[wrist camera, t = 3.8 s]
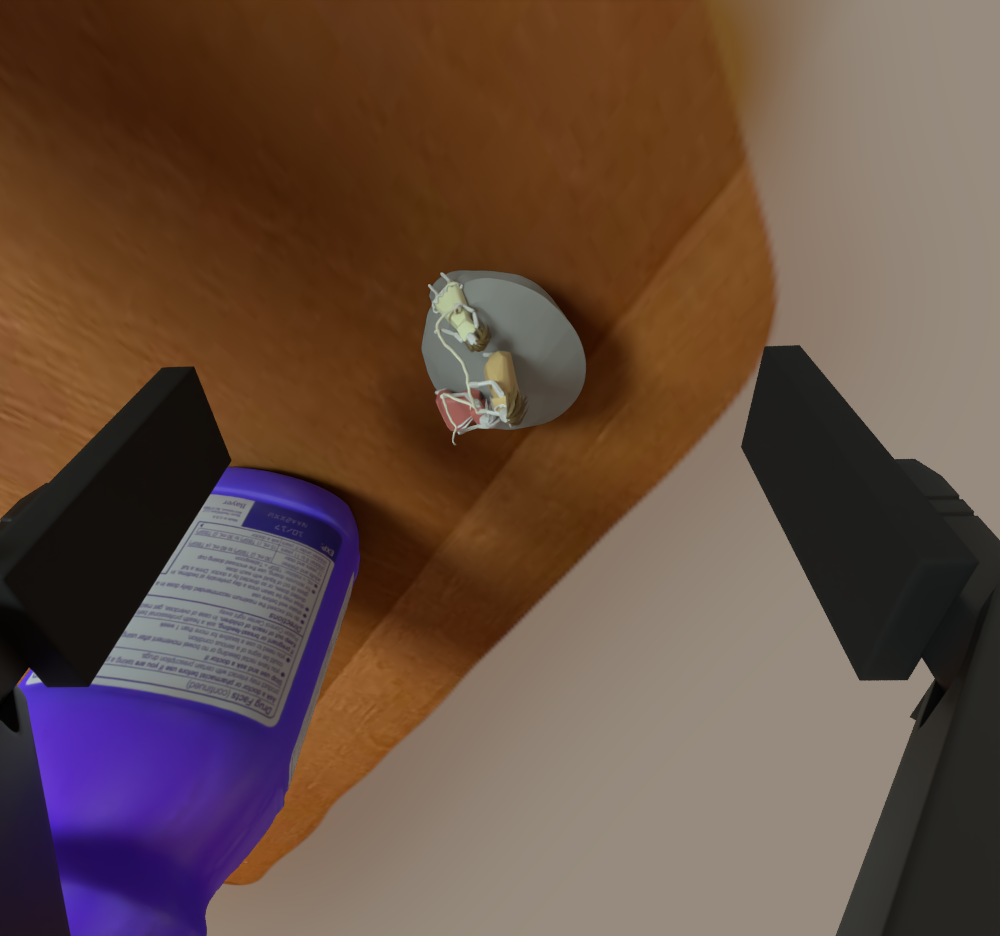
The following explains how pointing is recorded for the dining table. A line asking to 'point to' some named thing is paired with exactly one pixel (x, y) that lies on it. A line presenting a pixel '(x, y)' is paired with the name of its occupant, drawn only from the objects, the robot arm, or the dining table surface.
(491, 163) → the dining table surface
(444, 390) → the figurine
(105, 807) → the bottle
